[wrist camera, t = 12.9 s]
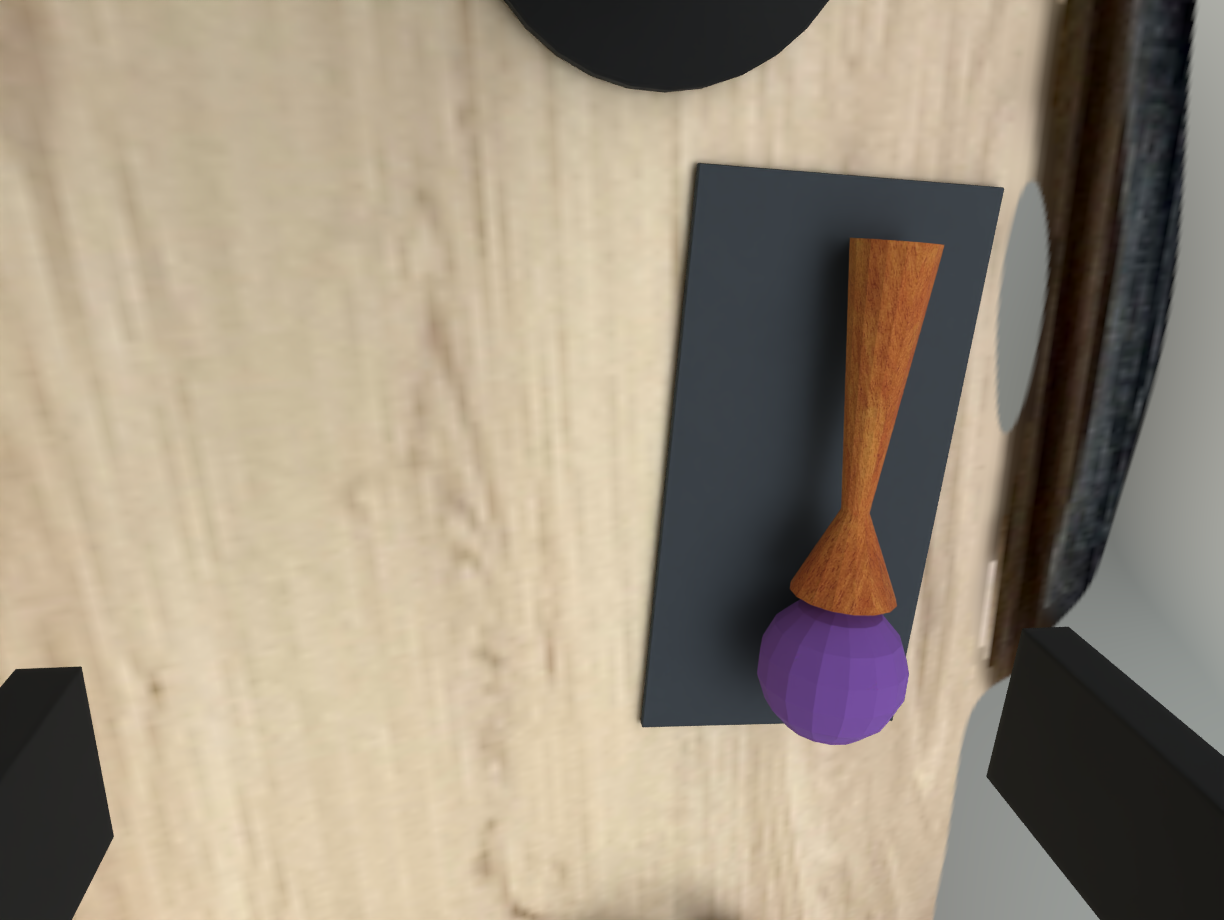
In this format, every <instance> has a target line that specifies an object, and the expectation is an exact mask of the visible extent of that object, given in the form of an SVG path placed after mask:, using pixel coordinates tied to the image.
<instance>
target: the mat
mask: <svg viewBox="0 0 1224 920" xmlns="http://www.w3.org/2000/svg"><path fill="white" fill-rule="evenodd" d="M1003 192H1004V188H1002V187H990V186H978V185H965V184H953V183H940V182H928V181H915V180H903V179H891V178H878V177H866V176H853V175H841V174H828V173H816V172H804V171H791V170H779V169H766V168H754V167H741V166H729V165H717V164H704V163H698V164H697V171H696V181H695V191H694V200H693V210H692V220H691V230H690V240H689V250H688V260H687V270H686V280H685V290H684V300H683V309H682V319H681V329H680V339H679V349H678V359H677V369H676V379H675V389H674V399H673V409H672V418H671V428H670V438H669V448H668V458H667V468H666V478H665V488H664V498H663V508H662V517H661V527H660V537H659V547H658V557H657V567H656V577H655V587H654V597H653V607H652V617H651V626H650V636H649V646H648V656H647V666H646V676H645V686H644V696H643V706H642V716H641V724H642V727H669V726H707V725H744V724H782V723H784V722H783V721H782V720H781V719H780V718H779V717H778V716H777V715H776V714H775V713H774V712H773V711H772V709H771V708H770V706H769V704H768V703H767V701H766V699H765V697H764V694H763V691H762V688H761V685H760V681H759V678H758V675H757V669H758V662H759V654H760V647H761V642H762V637H763V634H764V633H765V631H766V630H767V628H768V627H769V625H770V623H771V622H772V620H773V619H774V617H775V616H776V614H778V613H779V612H781V611H782V610H784V609H785V608H787V607H788V606H790V605H792V604H793V603H795V602H797V601H798V600H800V599H799V598H798V597H796V596H795V594H794V593H793V592H792V591H791V590H790V583H791V580H792V579H793V577H794V576H795V575H796V573H797V572H798V570H799V569H800V567H801V566H802V564H803V563H804V561H805V560H806V559H807V557H808V556H809V554H810V553H811V551H812V550H813V548H814V547H815V545H816V544H817V543H818V541H819V540H820V538H821V537H822V535H823V534H824V532H825V531H826V529H827V528H828V527H829V525H830V524H831V522H832V521H833V519H834V518H835V516H836V515H837V513H838V512H839V511H840V509H841V499H842V468H843V436H844V405H845V373H846V342H847V310H848V279H849V247H850V238H865V239H881V240H896V241H909V242H921V243H932V244H941V245H944V249H943V252H942V256H941V260H940V263H939V267H938V270H937V274H936V277H935V281H934V285H933V288H932V292H931V295H930V299H929V302H928V306H927V310H926V313H925V317H924V320H923V324H922V327H921V331H920V335H919V338H918V342H917V345H916V349H915V352H914V356H913V359H912V363H911V367H910V370H909V374H908V377H907V381H906V384H905V388H904V392H903V395H902V399H901V402H900V406H899V409H898V413H897V417H896V420H895V424H894V427H893V431H892V434H891V438H890V442H889V445H888V449H887V452H886V456H885V459H884V463H883V467H882V470H881V474H880V477H879V481H878V484H877V488H876V492H875V495H874V499H873V502H872V506H871V509H870V516H871V520H872V523H873V526H874V529H875V533H876V536H877V539H878V542H879V546H880V549H881V552H882V555H883V559H884V562H885V565H886V568H887V572H888V575H889V578H890V581H891V585H892V588H893V591H894V594H895V598H896V603H897V607H896V608H894V609H893V610H892V611H891V612H889V613H884V614H882V615H883V616H884V617H885V618H886V619H887V621H888V622H889V623H890V624H891V625H892V627H893V628H894V629H895V630H896V631H897V633H898V634H899V635H900V638H901V642H902V645H903V649H904V653H905V656H906V653H907V648H908V644H909V639H910V634H911V629H912V625H913V620H914V615H915V610H916V606H917V601H918V596H919V591H920V587H921V582H922V577H923V572H924V568H925V563H926V558H927V553H928V549H929V544H930V539H931V534H932V529H933V525H934V520H935V515H936V510H937V506H938V501H939V496H940V491H941V487H942V482H943V477H944V472H945V468H946V463H947V458H948V453H949V449H950V444H951V439H952V434H953V430H954V425H955V420H956V415H957V411H958V406H959V401H960V396H961V392H962V387H963V382H964V377H965V373H966V368H967V363H968V358H969V354H970V349H971V344H972V339H973V335H974V330H975V325H976V320H977V315H978V311H979V306H980V301H981V296H982V292H983V287H984V282H985V277H986V273H987V268H988V263H989V258H990V254H991V249H992V244H993V239H994V235H995V230H996V225H997V220H998V216H999V211H1000V206H1001V201H1002V197H1003ZM892 720H893V716H892V718H891V719H890V720H889V721H892Z"/></svg>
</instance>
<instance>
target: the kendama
mask: <svg viewBox="0 0 1224 920" xmlns="http://www.w3.org/2000/svg"><path fill="white" fill-rule="evenodd" d="M943 249H944V245H941V244H932V243H921V242H909V241H896V240H881V239H865V238H850V247H849V279H848V310H847V342H846V373H845V405H844V436H843V468H842V499H841V509H840V511H839V512H838V513H837V515H836V516H835V518H834V519H833V521H832V522H831V524H830V525H829V527H828V528H827V529H826V531H825V532H824V534H823V535H822V537H821V538H820V540H819V541H818V543H817V544H816V545H815V547H814V548H813V550H812V551H811V553H810V554H809V556H808V557H807V559H806V560H805V561H804V563H803V564H802V566H801V567H800V569H799V570H798V572H797V573H796V575H795V576H794V577H793V579H792V580H791V583H790V590H791V591H792V592H793V593H794V594H795V596H796V597H798V598H799V599H800V600H798V601H797V602H795V603H793V604H792V605H790V606H788V607H787V608H785V609H784V610H782V611H781V612H779V613H778V614H776V616H775V617H774V619H773V620H772V622H771V623H770V625H769V627H768V628H767V630H766V631H765V633H764V634H763V637H762V642H761V647H760V654H759V662H758V669H757V675H758V678H759V681H760V685H761V688H762V691H763V694H764V697H765V699H766V701H767V703H768V704H769V706H770V708H771V709H772V711H773V712H774V713H775V714H776V715H777V716H778V717H779V718H780V719H781V720H782V721H783V722H784V723H785V725H786V726H787V727H789V728H790V729H791V730H793V731H794V732H795V733H797V734H798V735H800V736H802V737H805V738H807V739H809V740H812V741H815V742H820V743H825V744H829V745H846V744H849V743H853V742H856V741H859V740H861V739H863V738H866V737H868V736H871V735H873V734H875V733H878V732H880V731H881V730H882V728H883V727H884V726H885V725H886V724H887V723H888V722H889V720H890V719H891V718H892V716H893V715H894V714H895V712H896V711H897V710H898V708H899V707H900V706H901V704H902V703H903V702H904V699H905V693H906V687H907V682H908V676H909V671H908V665H907V660H906V656H905V653H904V649H903V645H902V642H901V638H900V635H899V634H898V633H897V631H896V630H895V629H894V628H893V627H892V625H891V624H890V623H889V622H888V621H887V619H886V618H885V617H884V616H883V615H882V614H884V613H889V612H891V611H892V610H893V609H894V608H896V607H897V603H896V598H895V594H894V591H893V588H892V585H891V581H890V578H889V575H888V572H887V568H886V565H885V562H884V559H883V555H882V552H881V549H880V546H879V542H878V539H877V536H876V533H875V529H874V526H873V523H872V520H871V516H870V509H871V506H872V502H873V499H874V495H875V492H876V488H877V484H878V481H879V477H880V474H881V470H882V467H883V463H884V459H885V456H886V452H887V449H888V445H889V442H890V438H891V434H892V431H893V427H894V424H895V420H896V417H897V413H898V409H899V406H900V402H901V399H902V395H903V392H904V388H905V384H906V381H907V377H908V374H909V370H910V367H911V363H912V359H913V356H914V352H915V349H916V345H917V342H918V338H919V335H920V331H921V327H922V324H923V320H924V317H925V313H926V310H927V306H928V302H929V299H930V295H931V292H932V288H933V285H934V281H935V277H936V274H937V270H938V267H939V263H940V260H941V256H942V252H943Z"/></svg>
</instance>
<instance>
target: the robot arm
mask: <svg viewBox="0 0 1224 920" xmlns="http://www.w3.org/2000/svg"><path fill="white" fill-rule="evenodd" d="M987 778H988V779H989V780H990V782H991V783H992V784H993V785H994V787H995V788H996V789H997V790H998V792H999V793H1000V794H1001V796H1002V797H1003V798H1004V799H1005V801H1006V802H1007V803H1008V804H1009V806H1010V807H1011V808H1012V809H1013V811H1014V812H1015V813H1016V814H1017V816H1018V817H1019V818H1020V820H1021V821H1022V822H1023V823H1024V825H1025V826H1026V827H1027V828H1028V829H1029V831H1030V832H1031V833H1032V835H1033V836H1034V837H1035V838H1036V840H1037V841H1038V842H1039V843H1040V845H1041V846H1042V847H1043V848H1044V850H1045V851H1046V852H1047V854H1048V855H1049V856H1050V857H1051V859H1052V860H1053V861H1054V862H1055V864H1056V865H1057V866H1058V867H1059V869H1060V870H1061V871H1062V872H1063V874H1064V875H1065V876H1066V877H1067V879H1068V880H1069V881H1070V882H1071V884H1072V885H1073V886H1074V887H1075V889H1076V890H1077V891H1078V892H1079V894H1080V895H1081V896H1082V898H1083V899H1084V900H1085V901H1086V903H1087V904H1088V905H1089V906H1090V908H1091V909H1092V910H1093V911H1094V913H1095V914H1096V915H1097V916H1098V918H1099V919H1100V920H1224V756H1223V755H1221V754H1220V753H1219V752H1218V751H1217V750H1215V749H1214V748H1213V747H1212V746H1211V745H1209V744H1208V743H1207V742H1206V741H1204V740H1203V739H1202V738H1201V737H1200V736H1198V735H1197V734H1196V733H1195V732H1194V731H1193V730H1191V729H1190V728H1189V727H1188V726H1187V725H1185V724H1184V723H1183V722H1182V721H1181V720H1179V719H1178V718H1177V717H1176V716H1175V715H1173V714H1172V713H1171V712H1170V711H1169V710H1168V709H1166V708H1165V707H1164V706H1163V705H1162V704H1160V703H1159V702H1158V701H1157V700H1155V699H1154V698H1153V697H1152V696H1151V695H1149V694H1148V693H1147V692H1146V691H1145V690H1144V689H1142V688H1141V687H1140V686H1139V685H1137V684H1136V683H1135V682H1134V681H1133V680H1131V679H1130V678H1129V677H1128V676H1127V675H1126V674H1124V673H1123V672H1122V671H1121V670H1119V669H1118V668H1117V667H1116V666H1115V665H1114V664H1112V663H1111V662H1110V661H1109V660H1108V659H1106V658H1105V657H1104V656H1103V655H1102V654H1100V653H1099V652H1098V651H1097V650H1096V649H1094V648H1093V647H1092V646H1091V645H1090V644H1088V643H1087V642H1086V641H1085V640H1084V639H1082V638H1081V637H1080V636H1079V635H1078V634H1077V633H1075V632H1074V631H1073V630H1072V629H1071V628H1069V627H1051V628H1026V629H1022V633H1021V637H1020V641H1019V645H1018V649H1017V653H1016V657H1015V661H1014V666H1013V670H1012V674H1011V678H1010V682H1009V686H1008V690H1007V694H1006V699H1005V703H1004V707H1003V711H1002V715H1001V719H1000V723H999V727H998V731H997V735H996V740H995V743H994V748H993V752H992V756H991V760H990V764H989V768H988V773H987ZM113 837H114V835H113V830H112V824H111V819H110V814H109V809H108V803H107V798H106V793H105V788H104V782H103V777H102V772H101V767H100V761H99V756H98V751H97V746H96V740H95V735H94V730H93V725H92V719H91V714H90V709H89V704H88V698H87V693H86V688H85V683H84V677H83V672H82V667H58V668H33V669H15V671H14V672H13V673H12V674H11V675H10V677H9V678H8V679H7V680H6V681H5V683H4V684H3V685H2V686H1V687H0V920H72V918H73V916H74V914H75V912H76V910H77V908H78V906H79V905H80V903H81V901H82V899H83V897H84V895H85V893H86V891H87V889H88V887H89V885H90V883H91V881H92V879H93V877H94V875H95V873H96V871H97V869H98V867H99V865H100V863H101V861H102V859H103V857H104V855H105V853H106V851H107V849H108V847H109V845H110V843H111V841H112V839H113Z"/></svg>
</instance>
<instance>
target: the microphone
mask: <svg viewBox="0 0 1224 920" xmlns="http://www.w3.org/2000/svg"><path fill="white" fill-rule="evenodd" d="M504 1H505V2H506V3H507V5H508V6H509V7H510V8H511V10H512V11H513V12H514V14H515V15H516V16H517V18H518V19H519V20H520V21H521V23H522V24H523V25H524V27H525V28H526V29H527V30H528V31H529V32H531V33H532V34H533V35H534V36H535V37H536V38H537V39H538V40H540V41H541V42H542V43H543V44H544V45H545V46H546V47H547V48H549V49H550V50H551V51H552V52H553V53H554V54H555V55H556V56H558V57H560V58H561V59H563V60H565V61H566V62H568V63H570V64H572V65H573V66H575V67H577V68H578V69H580V70H582V71H583V72H585V73H587V74H589V75H590V76H593V77H596V78H599V79H602V80H604V81H607V82H610V83H613V84H616V85H619V86H622V87H625V88H630V89H639V90H648V91H657V92H673V91H683V90H692V89H702V88H705V87H708V86H711V85H714V84H717V83H720V82H723V81H726V80H729V79H732V78H735V77H738V76H740V75H743V74H745V73H747V72H748V71H750V70H752V69H754V68H755V67H757V66H759V65H760V64H762V63H764V62H766V61H767V60H769V59H771V58H772V57H774V56H776V55H777V54H779V53H780V52H781V51H782V50H783V49H784V48H785V47H786V46H788V45H789V44H790V43H791V42H792V41H793V40H794V39H796V38H797V37H798V36H799V35H800V34H801V33H802V32H804V31H805V30H806V29H807V28H808V27H809V25H810V24H811V23H812V21H813V20H814V19H815V18H816V16H817V15H818V14H819V12H820V11H821V10H822V9H823V7H824V6H825V5H826V4H827V2H828V1H829V0H504Z"/></svg>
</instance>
